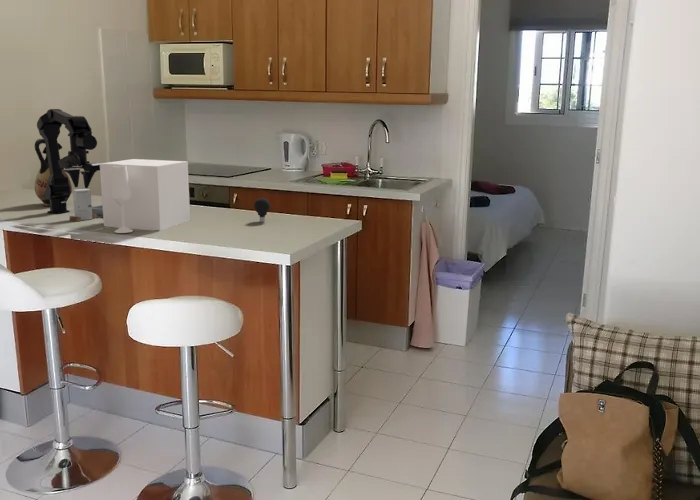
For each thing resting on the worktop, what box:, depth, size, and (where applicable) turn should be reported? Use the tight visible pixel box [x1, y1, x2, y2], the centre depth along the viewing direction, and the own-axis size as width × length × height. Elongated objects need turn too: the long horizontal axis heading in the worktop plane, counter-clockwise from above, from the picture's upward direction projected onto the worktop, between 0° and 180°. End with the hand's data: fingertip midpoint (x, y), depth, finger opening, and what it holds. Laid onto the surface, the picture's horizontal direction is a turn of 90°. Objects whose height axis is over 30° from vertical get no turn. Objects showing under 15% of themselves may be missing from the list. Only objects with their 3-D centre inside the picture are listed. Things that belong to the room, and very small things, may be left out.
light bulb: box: [253, 197, 271, 223], centre depth 270 cm, size 6×6×10 cm
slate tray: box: [92, 204, 103, 217], centre depth 287 cm, size 14×14×3 cm
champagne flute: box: [112, 166, 134, 234], centre depth 248 cm, size 7×7×24 cm
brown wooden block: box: [69, 214, 98, 222], centre depth 274 cm, size 5×10×2 cm, turn 152°
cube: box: [99, 158, 191, 232], centre depth 264 cm, size 25×21×24 cm
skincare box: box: [72, 188, 93, 221], centre depth 272 cm, size 6×4×12 cm
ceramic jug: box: [34, 138, 73, 208], centre depth 304 cm, size 17×15×30 cm
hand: (81, 187), depth 271 cm, fingers open, 5 cm apart
